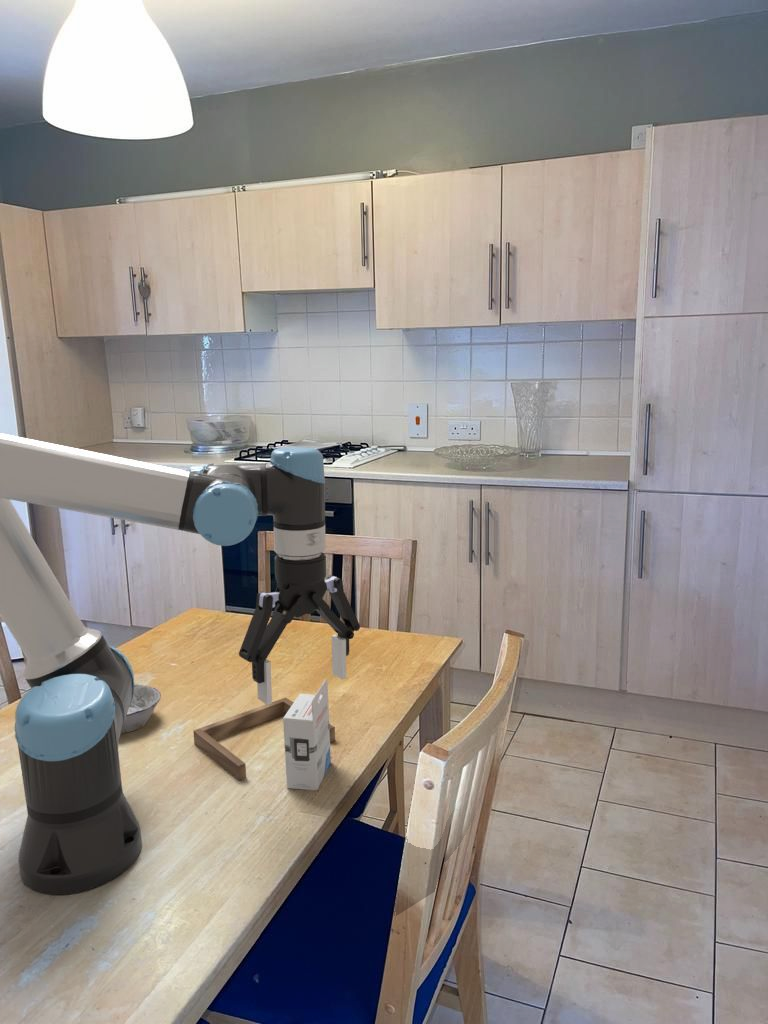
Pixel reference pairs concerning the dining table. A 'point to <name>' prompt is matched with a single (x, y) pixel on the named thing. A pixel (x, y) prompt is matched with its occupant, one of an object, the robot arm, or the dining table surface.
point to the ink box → (307, 740)
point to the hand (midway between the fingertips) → (303, 688)
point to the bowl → (140, 707)
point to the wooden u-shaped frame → (212, 732)
